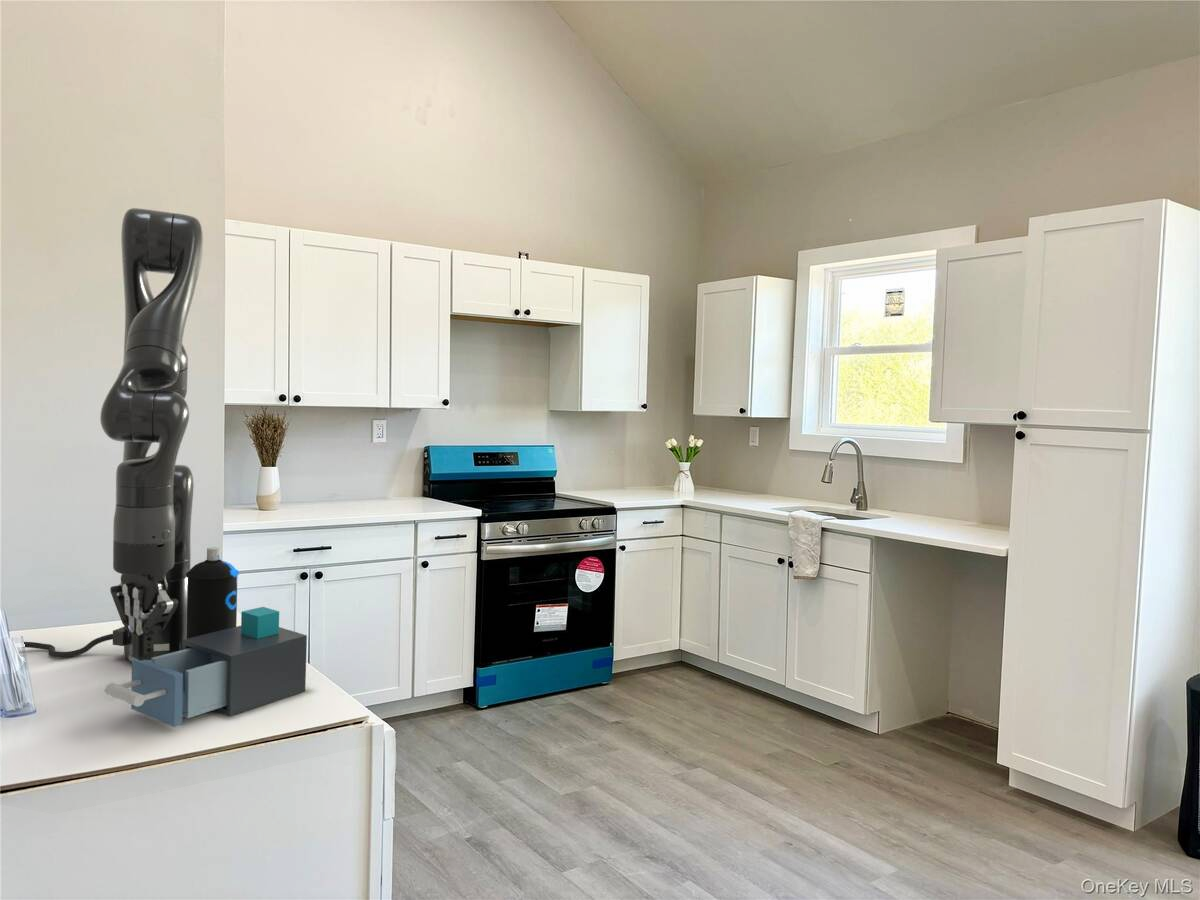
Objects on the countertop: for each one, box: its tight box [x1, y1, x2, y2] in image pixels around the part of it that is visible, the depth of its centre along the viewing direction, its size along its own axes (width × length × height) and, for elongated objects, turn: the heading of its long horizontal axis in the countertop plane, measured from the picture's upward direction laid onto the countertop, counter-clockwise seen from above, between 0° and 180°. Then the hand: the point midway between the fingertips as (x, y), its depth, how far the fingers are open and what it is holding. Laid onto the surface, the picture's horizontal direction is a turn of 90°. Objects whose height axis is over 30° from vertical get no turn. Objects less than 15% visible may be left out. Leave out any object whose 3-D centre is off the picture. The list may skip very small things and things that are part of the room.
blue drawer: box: [104, 648, 228, 728], centre depth 129 cm, size 17×10×7 cm, turn 148°
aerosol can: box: [186, 546, 240, 639], centre depth 150 cm, size 8×8×20 cm
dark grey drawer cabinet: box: [183, 625, 308, 717], centre depth 138 cm, size 14×12×9 cm
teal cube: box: [240, 606, 280, 639], centre depth 140 cm, size 4×4×4 cm
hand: (143, 658), depth 124 cm, fingers closed
